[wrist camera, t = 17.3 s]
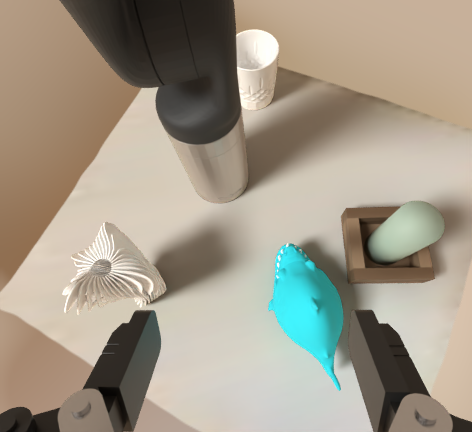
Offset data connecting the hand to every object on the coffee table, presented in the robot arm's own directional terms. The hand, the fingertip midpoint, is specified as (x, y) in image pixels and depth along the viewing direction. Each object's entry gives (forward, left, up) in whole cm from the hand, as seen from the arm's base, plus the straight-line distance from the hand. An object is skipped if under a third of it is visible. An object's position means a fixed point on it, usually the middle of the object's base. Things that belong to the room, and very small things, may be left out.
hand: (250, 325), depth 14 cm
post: (-3, +21, -33) cm, 39 cm away
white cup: (-36, +16, -34) cm, 52 cm away
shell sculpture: (-13, -13, -34) cm, 38 cm away
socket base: (-3, +20, -34) cm, 39 cm away
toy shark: (+1, +7, -34) cm, 35 cm away
